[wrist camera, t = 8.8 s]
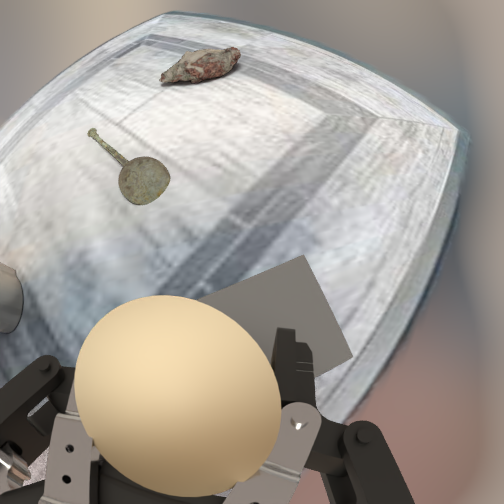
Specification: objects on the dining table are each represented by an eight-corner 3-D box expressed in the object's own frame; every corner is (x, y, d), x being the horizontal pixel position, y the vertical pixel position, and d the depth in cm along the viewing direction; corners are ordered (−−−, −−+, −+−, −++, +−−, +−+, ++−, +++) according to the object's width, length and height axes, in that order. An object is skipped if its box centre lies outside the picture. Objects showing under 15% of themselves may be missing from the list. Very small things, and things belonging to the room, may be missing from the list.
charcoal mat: (198, 300, 28) (196, 299, 27) (302, 257, 29) (303, 254, 28) (244, 406, 24) (243, 408, 23) (350, 356, 25) (353, 356, 25)
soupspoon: (143, 219, 32) (181, 186, 34) (135, 206, 29) (176, 171, 31) (79, 146, 37) (108, 123, 39) (71, 133, 34) (102, 110, 36)
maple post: (170, 346, 15) (55, 329, 5) (246, 318, 15) (228, 262, 6) (199, 421, 13) (122, 502, 4) (278, 394, 14) (314, 463, 4)
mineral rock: (160, 91, 41) (154, 72, 36) (168, 70, 43) (164, 53, 39) (241, 82, 41) (240, 63, 36) (241, 62, 43) (240, 44, 39)
